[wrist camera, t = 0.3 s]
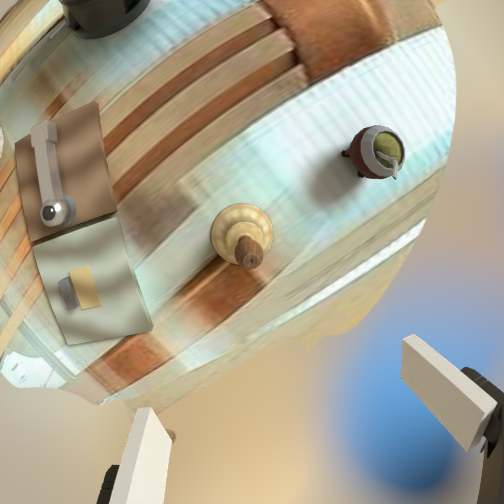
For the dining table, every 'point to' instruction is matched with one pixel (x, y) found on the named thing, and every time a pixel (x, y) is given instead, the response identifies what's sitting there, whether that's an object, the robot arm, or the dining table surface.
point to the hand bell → (242, 235)
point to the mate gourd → (376, 152)
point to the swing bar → (49, 174)
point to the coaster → (1, 141)
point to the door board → (83, 237)
